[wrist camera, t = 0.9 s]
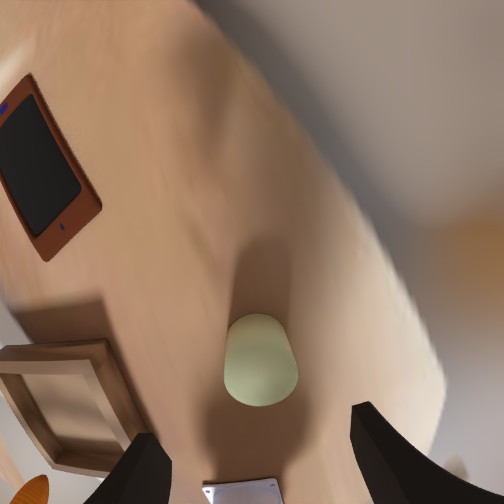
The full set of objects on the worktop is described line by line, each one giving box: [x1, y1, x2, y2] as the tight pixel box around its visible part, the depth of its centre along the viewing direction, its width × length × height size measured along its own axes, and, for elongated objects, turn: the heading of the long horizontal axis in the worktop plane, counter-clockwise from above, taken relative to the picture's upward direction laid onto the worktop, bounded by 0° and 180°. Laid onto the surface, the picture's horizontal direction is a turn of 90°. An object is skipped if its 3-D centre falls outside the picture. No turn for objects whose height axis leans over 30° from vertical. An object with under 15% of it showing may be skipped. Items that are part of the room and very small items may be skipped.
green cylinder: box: [224, 314, 299, 406], centre depth 19 cm, size 4×4×5 cm
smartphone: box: [0, 75, 102, 262], centre depth 18 cm, size 7×1×15 cm
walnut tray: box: [0, 338, 149, 478], centre depth 21 cm, size 14×13×4 cm
